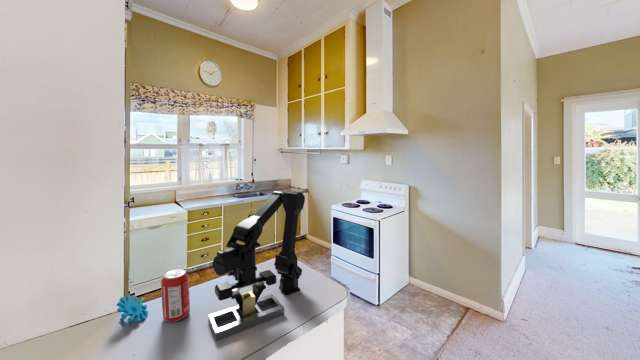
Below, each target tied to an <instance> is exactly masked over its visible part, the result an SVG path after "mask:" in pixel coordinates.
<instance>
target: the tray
mask: <svg viewBox="0 0 640 360" xmlns="http://www.w3.org/2000/svg"><path fill="white" fill-rule="evenodd" d="M269 305H272V306H273V307H271V308H269V309H265V310H262V309H261V308H263V307H267V306H269ZM240 315H241V313H240V312H239V307H238V305H234V306H232V307H228V308H226V309H222V310H218V311H216V312H213V313H209V314H208V325H209V327H210V329H211V332H212V335H213V337H214V340H215V342H218V341H220V340H223V339H225V338H228V337H230V336H233V335H236V334H238V333H240V332H243V331H246V330H248V329H251V328H253V327H256V326H259V325H261V324H263V323H266V322H269V321H271V320H274V319H277V318H279V317H281V316H284V315H285V307H284V306H283V305H282V304H281V302H280V301H279V300H278V299H277V297H275V296H274V294H272V293H271V294H267V295H265V296H264V295H263V296H261V297H259V299H258V301H257V303H256V305H255V314H253V315H251V316H248V317H245V318H241V317H240ZM241 316H242V315H241ZM229 319H233V322H231V323H227V324H225V325H223V326H219V327H218V325H217V324H218V323H221V322H224V321H227V320H229Z"/></svg>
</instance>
